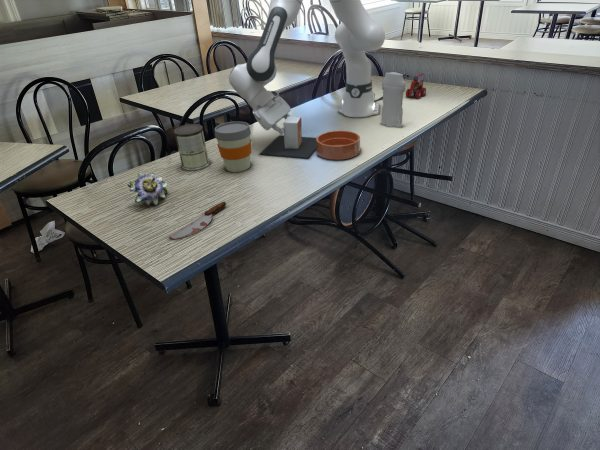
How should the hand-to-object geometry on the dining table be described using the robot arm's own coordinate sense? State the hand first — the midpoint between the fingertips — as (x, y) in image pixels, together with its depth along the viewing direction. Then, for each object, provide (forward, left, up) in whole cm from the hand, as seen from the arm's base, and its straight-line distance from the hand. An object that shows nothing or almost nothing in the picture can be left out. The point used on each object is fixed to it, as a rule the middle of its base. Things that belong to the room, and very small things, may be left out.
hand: (288, 128), depth 163 cm
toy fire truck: (-77, +38, -8) cm, 86 cm away
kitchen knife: (+60, -3, -8) cm, 60 cm away
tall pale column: (-32, +34, -8) cm, 48 cm away
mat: (0, +1, -7) cm, 8 cm away
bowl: (+1, +20, -7) cm, 22 cm away
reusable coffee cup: (+22, -12, -8) cm, 26 cm away
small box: (0, +2, -7) cm, 7 cm away
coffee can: (+24, -29, -8) cm, 38 cm away
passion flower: (+52, -28, -8) cm, 59 cm away
